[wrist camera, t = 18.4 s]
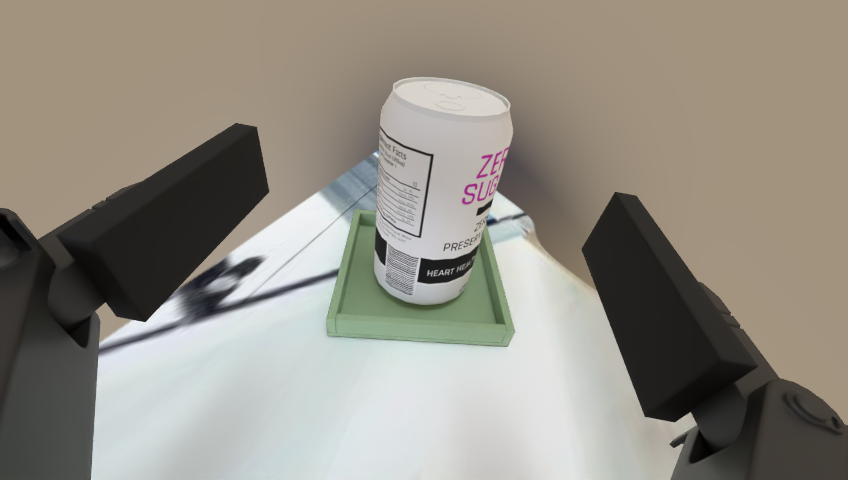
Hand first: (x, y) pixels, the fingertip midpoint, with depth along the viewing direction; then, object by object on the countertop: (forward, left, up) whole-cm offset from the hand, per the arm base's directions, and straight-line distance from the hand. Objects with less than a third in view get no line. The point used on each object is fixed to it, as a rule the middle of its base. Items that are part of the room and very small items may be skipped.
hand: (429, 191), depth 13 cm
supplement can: (+1, +10, -14) cm, 17 cm away
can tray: (+1, +10, -14) cm, 17 cm away
